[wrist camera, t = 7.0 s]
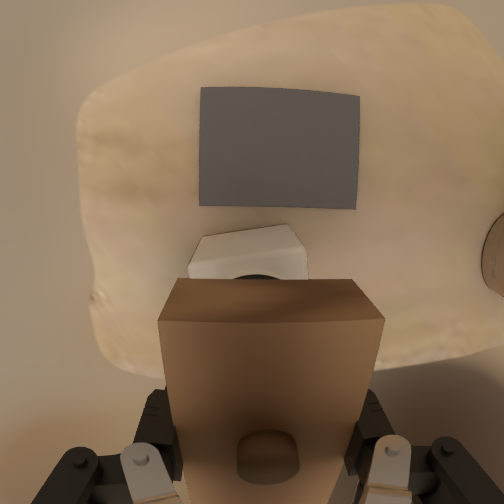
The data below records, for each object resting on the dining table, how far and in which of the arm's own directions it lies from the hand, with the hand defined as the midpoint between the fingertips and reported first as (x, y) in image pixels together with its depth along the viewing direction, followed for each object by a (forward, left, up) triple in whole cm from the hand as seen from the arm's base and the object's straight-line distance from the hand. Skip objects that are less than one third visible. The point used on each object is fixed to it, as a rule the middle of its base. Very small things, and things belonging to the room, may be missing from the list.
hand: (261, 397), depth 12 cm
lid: (0, 0, 0) cm, 0 cm away
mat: (-2, -10, -15) cm, 18 cm away
